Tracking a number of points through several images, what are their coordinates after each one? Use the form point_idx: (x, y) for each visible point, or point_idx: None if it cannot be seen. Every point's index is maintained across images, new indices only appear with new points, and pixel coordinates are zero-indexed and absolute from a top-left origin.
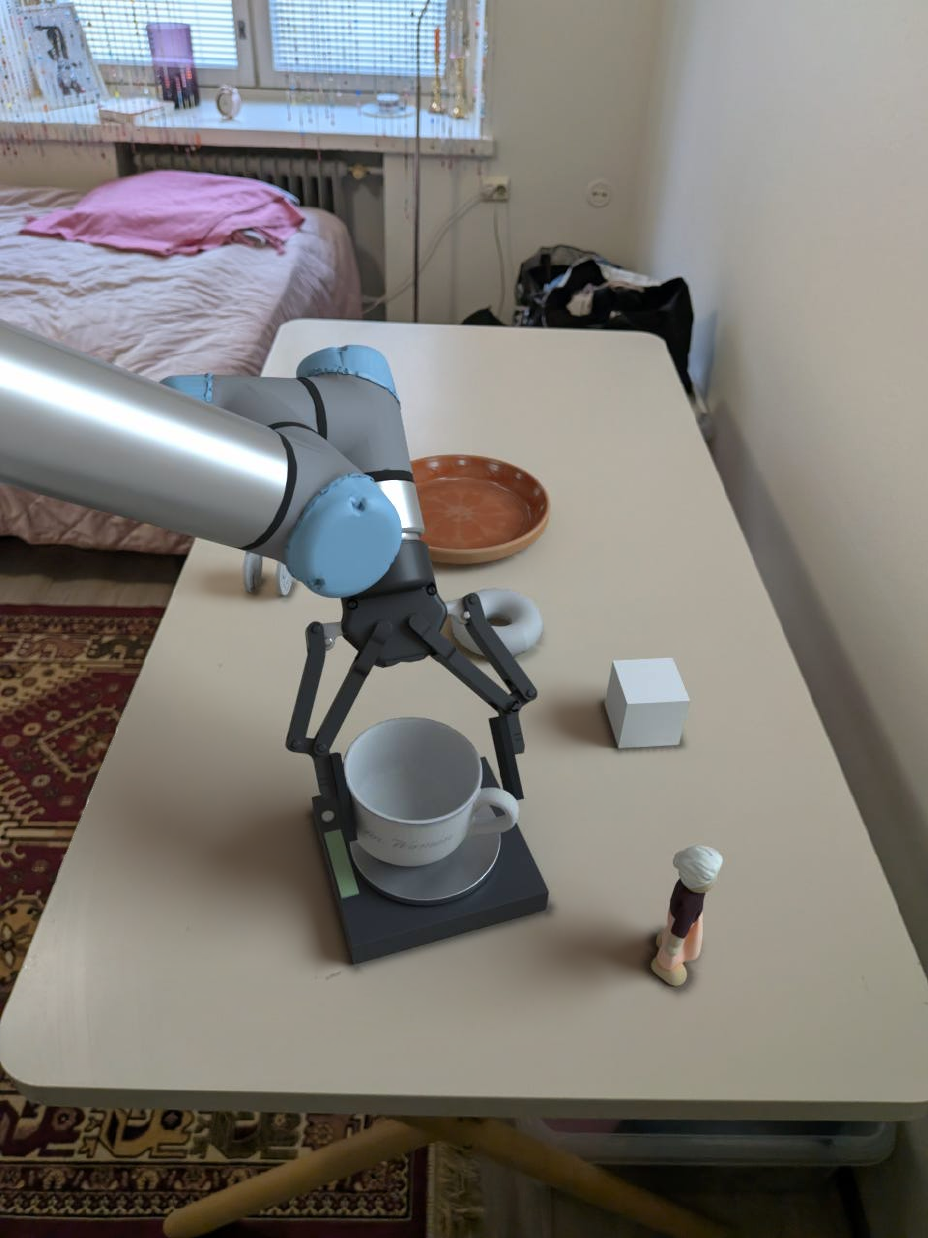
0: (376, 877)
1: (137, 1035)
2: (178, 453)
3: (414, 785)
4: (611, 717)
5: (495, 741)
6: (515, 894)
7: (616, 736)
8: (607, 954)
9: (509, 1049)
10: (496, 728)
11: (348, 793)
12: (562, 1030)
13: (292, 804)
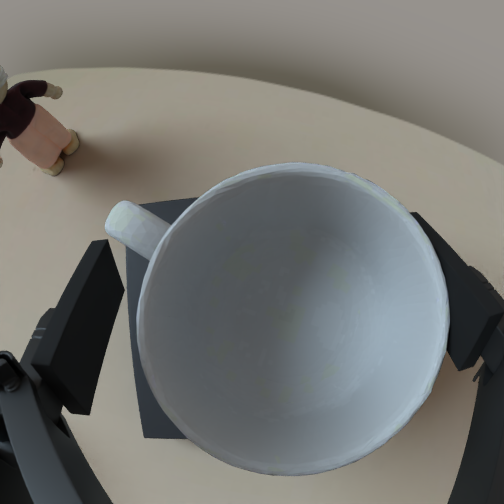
0: None
1: (498, 188)
2: None
3: (265, 388)
4: None
5: (93, 360)
6: (164, 208)
7: None
8: (104, 162)
9: (223, 99)
10: (72, 364)
11: (444, 257)
12: (173, 106)
13: None
